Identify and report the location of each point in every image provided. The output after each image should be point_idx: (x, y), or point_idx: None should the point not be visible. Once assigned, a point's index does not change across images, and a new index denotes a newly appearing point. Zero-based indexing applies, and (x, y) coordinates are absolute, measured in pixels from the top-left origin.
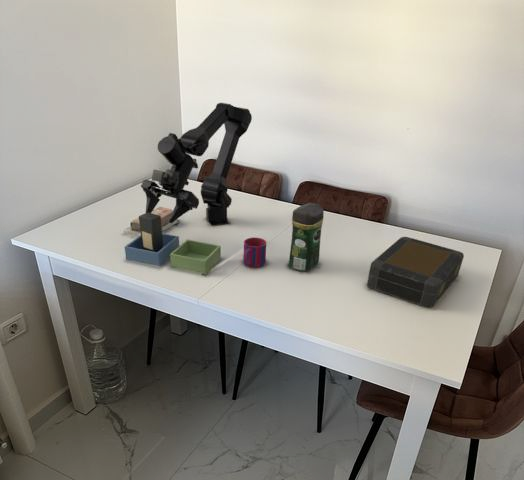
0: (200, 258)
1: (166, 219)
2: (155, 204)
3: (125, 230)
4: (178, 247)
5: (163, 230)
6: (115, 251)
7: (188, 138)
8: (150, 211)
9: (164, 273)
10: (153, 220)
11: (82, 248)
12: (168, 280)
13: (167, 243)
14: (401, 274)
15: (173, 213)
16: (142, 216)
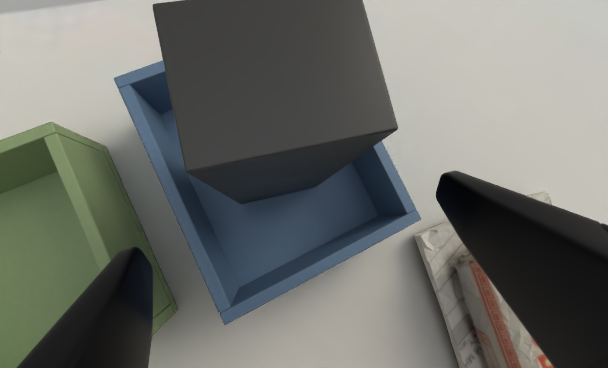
0: (54, 315)
1: None
2: (559, 355)
3: (537, 194)
4: (87, 219)
5: (458, 359)
6: (404, 74)
7: None
8: (470, 234)
9: (90, 96)
10: (162, 43)
11: (497, 5)
12: (22, 69)
13: (288, 264)
14: None
15: (46, 351)
16: (322, 2)
